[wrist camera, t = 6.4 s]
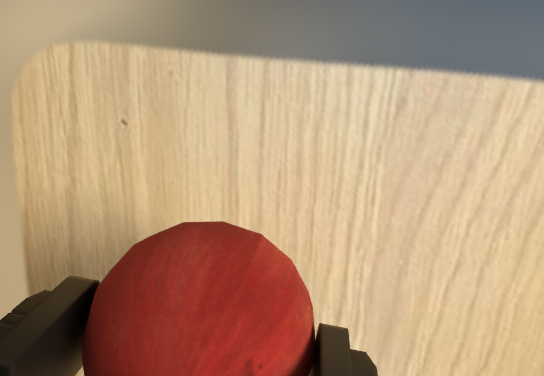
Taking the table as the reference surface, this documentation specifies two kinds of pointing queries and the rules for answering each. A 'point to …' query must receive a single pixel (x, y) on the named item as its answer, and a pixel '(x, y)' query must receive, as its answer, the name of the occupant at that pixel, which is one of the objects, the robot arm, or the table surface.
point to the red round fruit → (201, 308)
